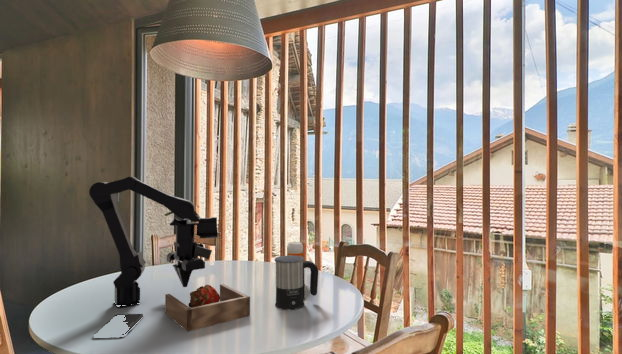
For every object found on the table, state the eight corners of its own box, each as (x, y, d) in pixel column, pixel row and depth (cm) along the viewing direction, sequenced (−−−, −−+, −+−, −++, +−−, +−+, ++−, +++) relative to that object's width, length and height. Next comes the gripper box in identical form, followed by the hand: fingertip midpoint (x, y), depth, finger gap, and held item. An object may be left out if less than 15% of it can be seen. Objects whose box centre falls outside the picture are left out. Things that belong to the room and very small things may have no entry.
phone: (91, 336, 95) (115, 314, 110) (91, 340, 95) (115, 318, 110) (125, 334, 96) (144, 313, 111) (125, 339, 96) (144, 317, 111)
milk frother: (284, 312, 114) (284, 262, 114) (259, 299, 127) (259, 253, 127) (322, 303, 123) (322, 256, 123) (295, 291, 136) (295, 249, 136)
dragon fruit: (196, 325, 108) (205, 316, 120) (222, 306, 109) (228, 299, 121) (179, 300, 109) (190, 294, 121) (204, 281, 110) (212, 277, 122)
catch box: (187, 331, 100) (187, 310, 100) (165, 313, 114) (165, 294, 114) (249, 315, 112) (250, 296, 112) (223, 300, 125) (223, 283, 125)
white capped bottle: (302, 285, 144) (302, 244, 144) (286, 285, 144) (286, 244, 144) (303, 280, 150) (303, 241, 150) (287, 280, 150) (287, 241, 150)
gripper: (220, 240, 124) (220, 289, 124) (197, 233, 139) (197, 277, 139) (186, 243, 117) (186, 295, 117) (166, 236, 132) (166, 282, 132)
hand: (185, 286), depth 126 cm, fingers closed
